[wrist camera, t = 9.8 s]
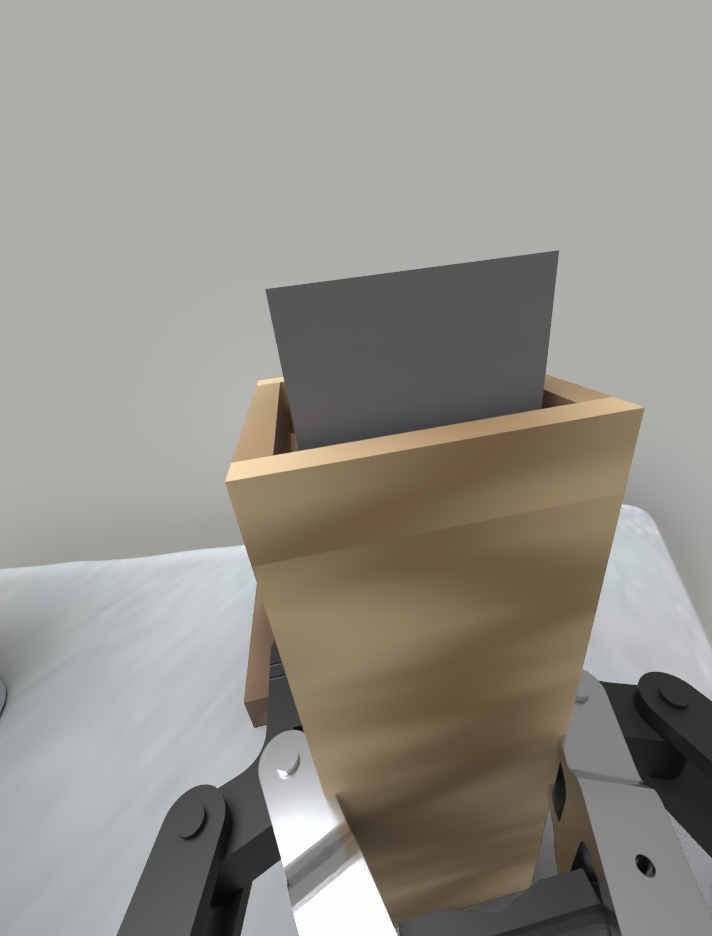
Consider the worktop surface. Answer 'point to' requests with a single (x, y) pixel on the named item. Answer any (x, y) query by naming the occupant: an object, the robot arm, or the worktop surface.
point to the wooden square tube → (437, 621)
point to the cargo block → (414, 347)
